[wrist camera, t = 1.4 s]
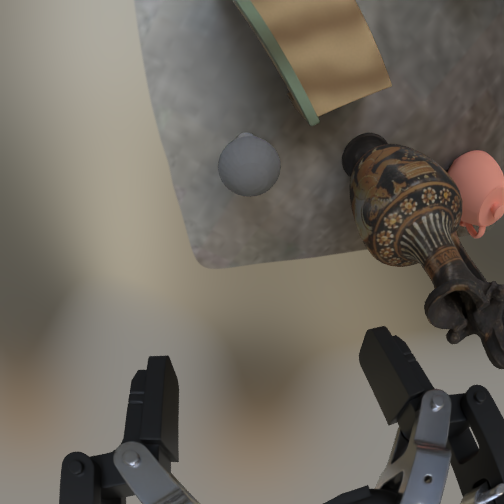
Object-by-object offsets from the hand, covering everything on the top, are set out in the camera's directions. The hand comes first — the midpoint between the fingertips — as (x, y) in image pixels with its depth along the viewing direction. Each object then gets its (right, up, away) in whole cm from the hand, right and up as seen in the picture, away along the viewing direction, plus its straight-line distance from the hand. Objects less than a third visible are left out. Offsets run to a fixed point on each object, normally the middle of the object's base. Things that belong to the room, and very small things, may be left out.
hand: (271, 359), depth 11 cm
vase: (+15, +16, +24) cm, 33 cm away
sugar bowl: (+34, +16, +26) cm, 46 cm away
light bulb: (-2, +17, +22) cm, 28 cm away
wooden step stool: (+4, +28, +12) cm, 31 cm away
